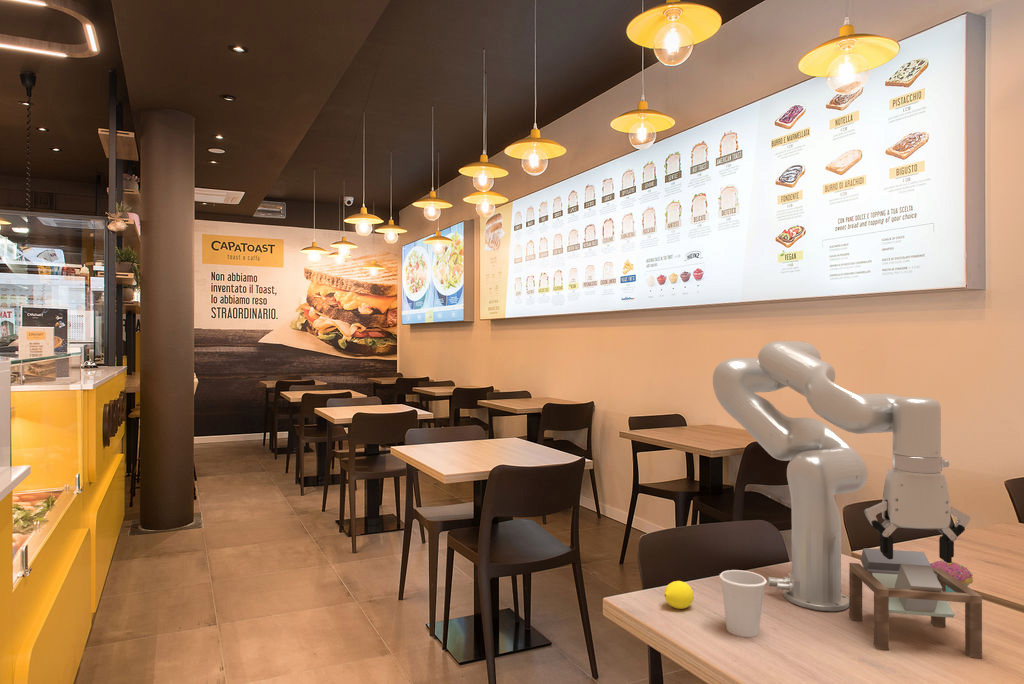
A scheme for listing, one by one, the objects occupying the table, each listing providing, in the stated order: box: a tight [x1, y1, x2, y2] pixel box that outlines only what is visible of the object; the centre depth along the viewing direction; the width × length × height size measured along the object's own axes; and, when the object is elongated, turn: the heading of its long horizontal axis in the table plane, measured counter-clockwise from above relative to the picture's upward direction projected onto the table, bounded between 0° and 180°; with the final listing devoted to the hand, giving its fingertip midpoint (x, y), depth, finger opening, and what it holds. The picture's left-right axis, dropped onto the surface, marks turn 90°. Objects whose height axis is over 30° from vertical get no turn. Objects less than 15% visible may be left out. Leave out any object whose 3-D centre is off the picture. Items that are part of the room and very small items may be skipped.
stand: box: [848, 562, 983, 659], centre depth 120 cm, size 17×15×11 cm
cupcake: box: [929, 560, 974, 593], centre depth 142 cm, size 9×8×12 cm
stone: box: [894, 564, 942, 612], centre depth 117 cm, size 5×5×6 cm
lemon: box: [663, 580, 695, 610], centre depth 132 cm, size 7×5×5 cm
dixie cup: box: [719, 569, 768, 638], centre depth 122 cm, size 8×8×10 cm
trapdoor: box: [860, 547, 955, 619], centre depth 123 cm, size 12×14×3 cm
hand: (916, 558), depth 118 cm, fingers open, 9 cm apart
